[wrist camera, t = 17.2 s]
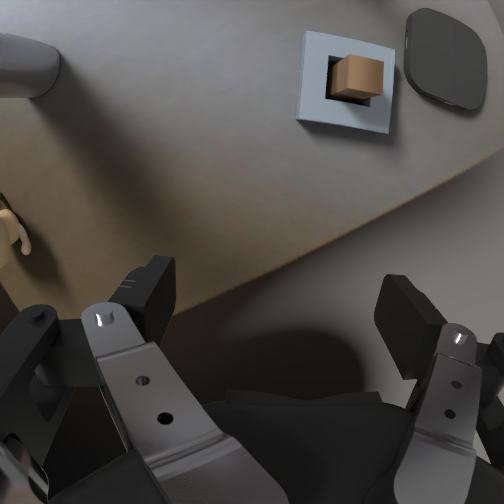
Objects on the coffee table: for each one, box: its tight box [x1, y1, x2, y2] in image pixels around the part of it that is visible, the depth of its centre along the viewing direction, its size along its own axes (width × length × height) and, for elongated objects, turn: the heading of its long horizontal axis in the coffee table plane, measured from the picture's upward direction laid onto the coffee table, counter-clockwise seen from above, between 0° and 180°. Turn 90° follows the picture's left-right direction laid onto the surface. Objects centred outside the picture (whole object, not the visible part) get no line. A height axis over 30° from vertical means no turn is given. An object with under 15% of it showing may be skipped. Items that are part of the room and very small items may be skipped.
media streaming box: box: [404, 8, 487, 110], centre depth 34 cm, size 15×15×3 cm
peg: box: [328, 54, 384, 101], centre depth 33 cm, size 4×4×10 cm
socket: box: [296, 31, 395, 134], centre depth 36 cm, size 12×12×4 cm
